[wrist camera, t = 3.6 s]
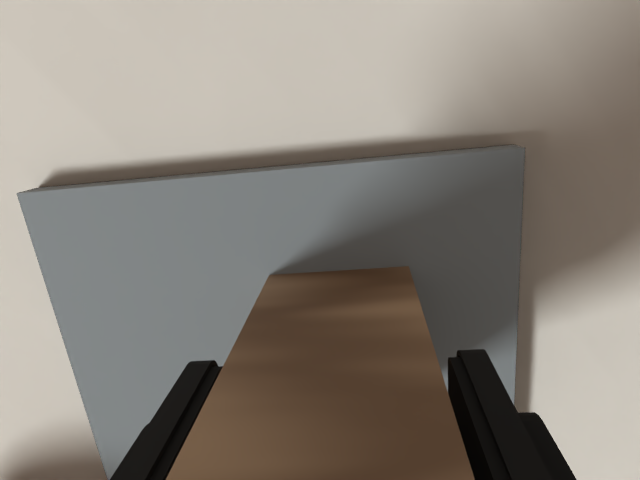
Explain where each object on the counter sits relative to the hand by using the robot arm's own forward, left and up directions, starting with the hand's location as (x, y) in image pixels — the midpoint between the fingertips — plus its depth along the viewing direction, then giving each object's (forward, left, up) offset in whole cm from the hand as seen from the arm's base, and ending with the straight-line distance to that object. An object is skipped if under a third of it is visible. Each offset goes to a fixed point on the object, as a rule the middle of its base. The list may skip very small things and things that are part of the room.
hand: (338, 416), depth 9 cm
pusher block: (0, 0, -4) cm, 4 cm away
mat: (+2, +1, -4) cm, 5 cm away
